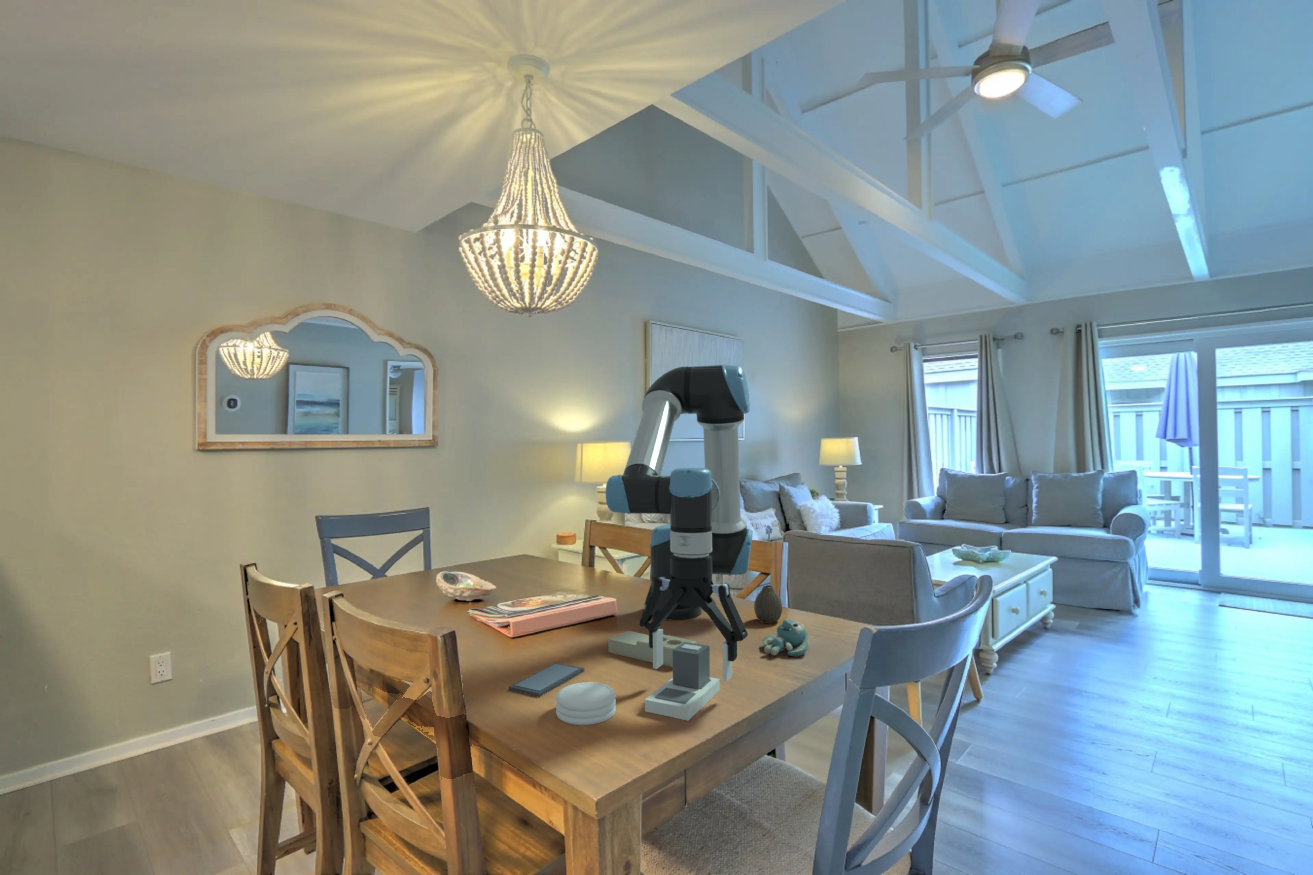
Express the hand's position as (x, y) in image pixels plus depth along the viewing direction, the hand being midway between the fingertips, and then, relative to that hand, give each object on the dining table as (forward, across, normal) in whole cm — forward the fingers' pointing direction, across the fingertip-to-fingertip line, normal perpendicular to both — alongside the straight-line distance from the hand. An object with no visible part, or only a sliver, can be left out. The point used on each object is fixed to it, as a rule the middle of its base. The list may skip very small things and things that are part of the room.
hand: (691, 672), depth 113 cm
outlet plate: (+4, 0, -4) cm, 5 cm away
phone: (+4, -27, -6) cm, 28 cm away
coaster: (+4, -13, -15) cm, 20 cm away
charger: (+2, 0, 0) cm, 2 cm away
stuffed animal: (+4, +9, +30) cm, 31 cm away
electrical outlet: (+4, -16, +15) cm, 22 cm away
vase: (+4, -1, +50) cm, 50 cm away
